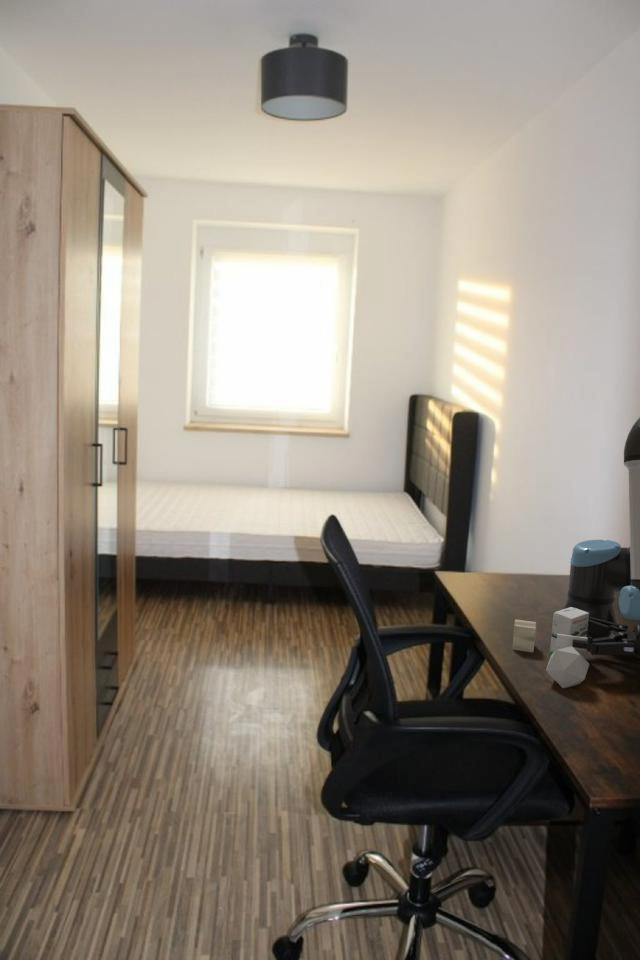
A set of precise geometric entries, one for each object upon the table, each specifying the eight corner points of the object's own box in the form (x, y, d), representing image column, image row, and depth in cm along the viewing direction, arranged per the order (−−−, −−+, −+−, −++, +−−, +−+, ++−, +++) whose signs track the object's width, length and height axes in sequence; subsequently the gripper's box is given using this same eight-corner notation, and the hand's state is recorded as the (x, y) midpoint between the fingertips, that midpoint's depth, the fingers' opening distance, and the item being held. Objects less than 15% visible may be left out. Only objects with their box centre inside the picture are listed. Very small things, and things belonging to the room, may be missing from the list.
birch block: (512, 642, 204) (515, 619, 203) (533, 645, 203) (536, 622, 202) (512, 649, 199) (514, 625, 198) (533, 652, 198) (535, 628, 197)
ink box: (566, 668, 189) (572, 618, 187) (547, 661, 193) (552, 612, 191) (585, 659, 195) (590, 611, 193) (566, 653, 199) (571, 605, 197)
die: (565, 676, 186) (543, 642, 185) (600, 667, 181) (577, 633, 179) (557, 700, 180) (534, 666, 178) (593, 692, 175) (569, 657, 173)
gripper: (658, 678, 177) (555, 664, 182) (644, 640, 201) (553, 628, 206) (662, 645, 176) (559, 632, 181) (647, 610, 200) (556, 599, 205)
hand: (555, 630), depth 194 cm, fingers open, 13 cm apart
